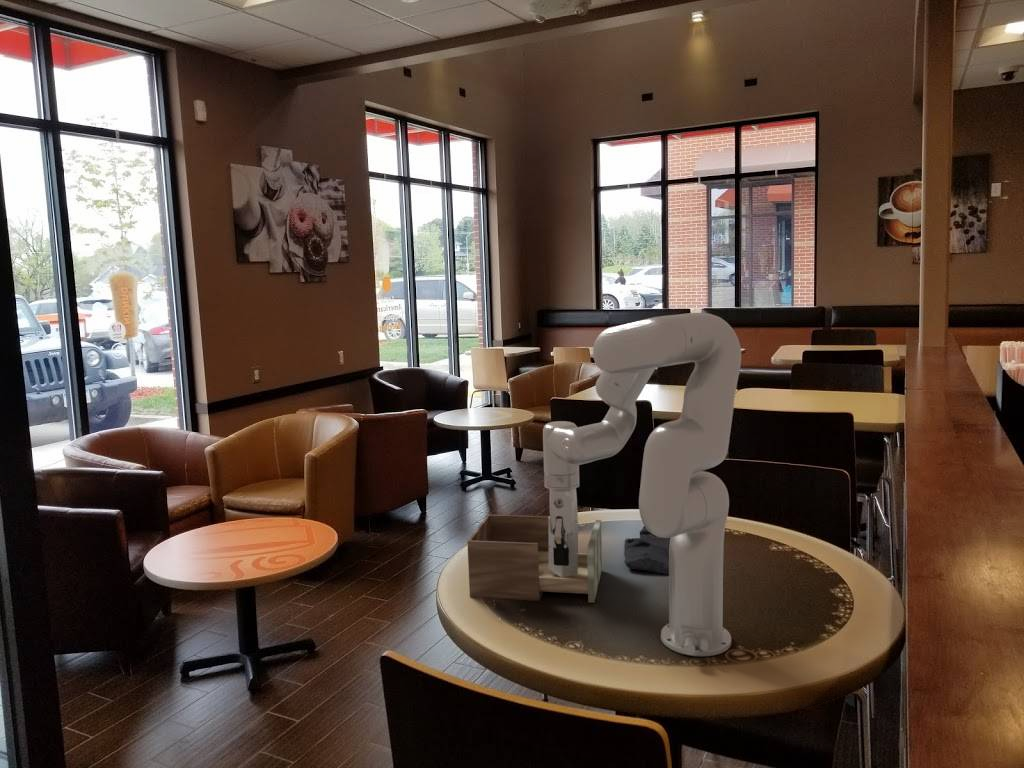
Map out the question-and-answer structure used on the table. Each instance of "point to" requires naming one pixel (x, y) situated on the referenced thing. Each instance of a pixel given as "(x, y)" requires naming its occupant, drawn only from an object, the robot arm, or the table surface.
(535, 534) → the walnut box
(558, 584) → the pull-out wooden drawer
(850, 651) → the table surface
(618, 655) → the table surface
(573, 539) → the skincare box
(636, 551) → the black tote bag
